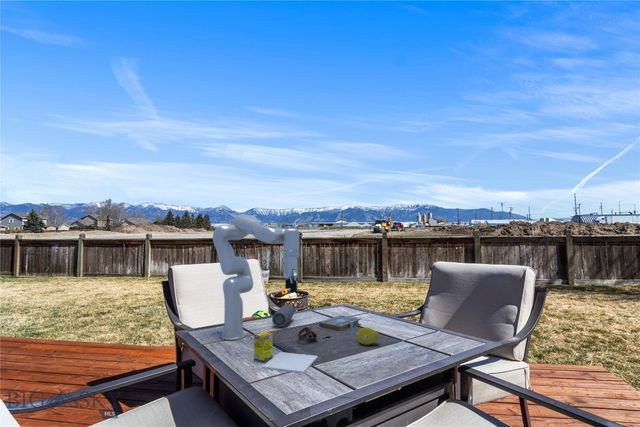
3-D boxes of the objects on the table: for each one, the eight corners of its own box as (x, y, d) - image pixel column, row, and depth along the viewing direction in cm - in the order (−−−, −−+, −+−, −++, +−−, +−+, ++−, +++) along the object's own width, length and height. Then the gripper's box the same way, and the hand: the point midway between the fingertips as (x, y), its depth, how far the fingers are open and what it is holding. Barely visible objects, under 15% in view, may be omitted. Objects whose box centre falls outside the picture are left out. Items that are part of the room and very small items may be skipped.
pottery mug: (318, 345, 170) (310, 331, 169) (302, 353, 172) (294, 339, 171) (320, 332, 182) (312, 319, 181) (304, 339, 184) (297, 326, 182)
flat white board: (262, 368, 141) (262, 366, 141) (280, 353, 158) (280, 352, 158) (303, 373, 135) (303, 371, 135) (317, 357, 152) (317, 355, 152)
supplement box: (263, 362, 146) (264, 336, 147) (253, 360, 150) (253, 334, 150) (273, 358, 151) (273, 333, 152) (262, 356, 155) (262, 331, 155)
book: (339, 321, 216) (339, 313, 216) (361, 326, 206) (361, 317, 206) (318, 329, 200) (317, 320, 200) (341, 334, 189) (341, 324, 190)
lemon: (354, 345, 169) (353, 328, 170) (360, 340, 176) (359, 324, 176) (375, 348, 164) (375, 331, 164) (380, 343, 171) (380, 327, 171)
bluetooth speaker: (280, 319, 221) (280, 303, 222) (295, 319, 220) (295, 303, 220) (270, 328, 199) (271, 311, 199) (286, 329, 197) (286, 311, 198)
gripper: (279, 253, 173) (279, 287, 172) (287, 255, 157) (287, 293, 156) (294, 253, 176) (294, 287, 175) (303, 255, 159) (303, 292, 158)
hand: (291, 290), depth 165 cm, fingers open, 9 cm apart
